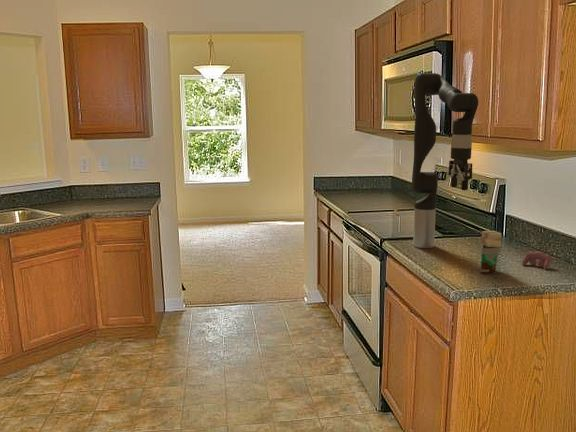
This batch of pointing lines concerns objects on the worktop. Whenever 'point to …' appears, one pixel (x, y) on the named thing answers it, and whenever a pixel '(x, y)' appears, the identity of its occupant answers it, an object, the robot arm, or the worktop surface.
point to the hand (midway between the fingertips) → (459, 188)
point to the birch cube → (491, 238)
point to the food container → (489, 259)
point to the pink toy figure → (537, 255)
